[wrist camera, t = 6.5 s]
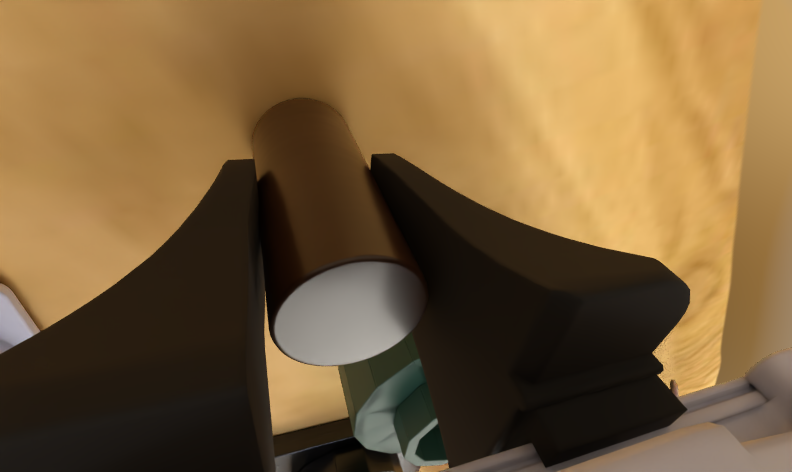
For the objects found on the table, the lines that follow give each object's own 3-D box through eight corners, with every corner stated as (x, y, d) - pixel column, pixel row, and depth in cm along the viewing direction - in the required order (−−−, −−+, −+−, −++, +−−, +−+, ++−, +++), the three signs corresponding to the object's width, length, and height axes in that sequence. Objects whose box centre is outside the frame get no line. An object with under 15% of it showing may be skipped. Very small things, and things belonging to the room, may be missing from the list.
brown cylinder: (257, 189, 13) (275, 380, 8) (246, 96, 11) (261, 270, 6) (348, 183, 14) (417, 351, 9) (352, 97, 12) (444, 248, 7)
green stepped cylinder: (334, 397, 23) (356, 505, 19) (339, 280, 17) (373, 400, 13) (480, 364, 25) (526, 451, 22) (527, 254, 20) (603, 346, 16)
